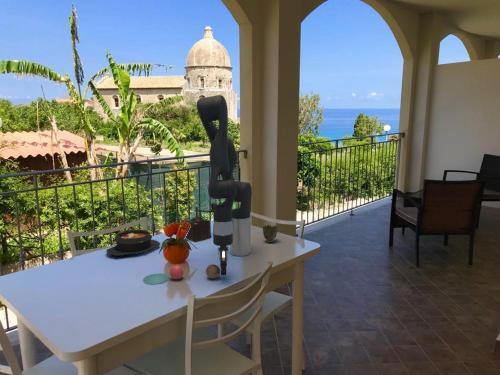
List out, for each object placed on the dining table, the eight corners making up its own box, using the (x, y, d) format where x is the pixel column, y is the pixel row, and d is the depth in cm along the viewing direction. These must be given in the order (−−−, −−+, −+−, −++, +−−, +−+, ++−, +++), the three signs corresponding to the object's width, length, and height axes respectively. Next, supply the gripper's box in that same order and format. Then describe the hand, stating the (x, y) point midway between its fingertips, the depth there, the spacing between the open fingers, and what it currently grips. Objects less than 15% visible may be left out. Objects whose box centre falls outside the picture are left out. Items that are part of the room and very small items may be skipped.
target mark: (146, 274, 154) (146, 273, 154) (171, 273, 154) (171, 273, 154) (140, 284, 144) (140, 284, 144) (167, 284, 144) (166, 283, 144)
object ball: (171, 276, 152) (170, 262, 151) (185, 275, 152) (184, 262, 151) (168, 281, 147) (168, 268, 146) (183, 281, 147) (182, 268, 146)
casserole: (117, 263, 166) (115, 244, 164) (100, 252, 179) (98, 235, 178) (167, 249, 183) (167, 232, 181) (148, 240, 196) (148, 224, 195)
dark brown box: (195, 242, 193) (194, 207, 189) (183, 237, 200) (182, 204, 197) (220, 236, 203) (219, 202, 200) (207, 231, 211) (206, 199, 208)
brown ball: (206, 275, 153) (206, 262, 152) (220, 275, 153) (220, 262, 152) (205, 281, 147) (205, 267, 146) (219, 280, 147) (219, 267, 146)
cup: (279, 240, 195) (279, 225, 193) (274, 245, 188) (274, 229, 187) (265, 238, 198) (266, 223, 196) (260, 243, 191) (260, 227, 190)
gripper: (213, 227, 152) (213, 268, 155) (212, 237, 139) (213, 282, 142) (232, 226, 153) (232, 267, 156) (233, 236, 140) (234, 281, 143)
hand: (223, 274), depth 149 cm, fingers closed
